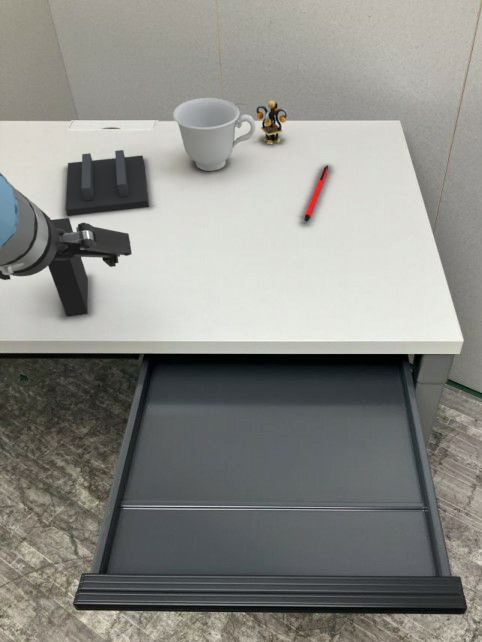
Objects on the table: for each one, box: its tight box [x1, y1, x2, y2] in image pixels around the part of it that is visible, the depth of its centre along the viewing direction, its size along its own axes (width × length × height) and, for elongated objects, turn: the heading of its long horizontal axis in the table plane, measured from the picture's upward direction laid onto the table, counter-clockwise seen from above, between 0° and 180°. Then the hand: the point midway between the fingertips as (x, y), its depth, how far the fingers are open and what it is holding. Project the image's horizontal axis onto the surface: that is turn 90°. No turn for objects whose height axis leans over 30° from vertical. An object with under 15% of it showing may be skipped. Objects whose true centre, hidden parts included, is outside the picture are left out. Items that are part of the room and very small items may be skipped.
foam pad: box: [47, 217, 89, 317], centre depth 84 cm, size 3×8×11 cm, turn 12°
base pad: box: [65, 149, 150, 217], centre depth 107 cm, size 14×16×4 cm
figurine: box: [255, 100, 288, 145], centre depth 117 cm, size 5×5×8 cm
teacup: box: [172, 97, 256, 172], centre depth 110 cm, size 12×15×10 cm
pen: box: [304, 164, 329, 223], centre depth 107 cm, size 1×19×1 cm, turn 166°
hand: (59, 262), depth 78 cm, fingers open, 13 cm apart
